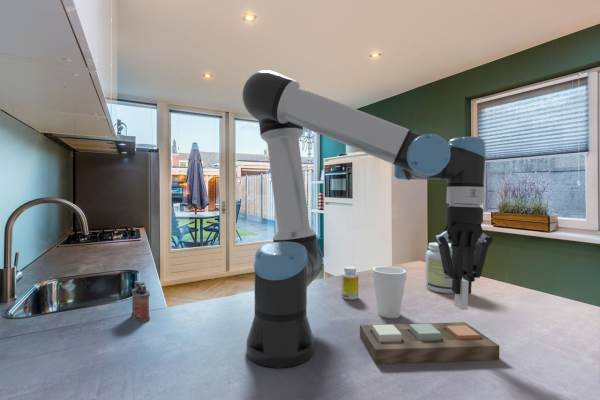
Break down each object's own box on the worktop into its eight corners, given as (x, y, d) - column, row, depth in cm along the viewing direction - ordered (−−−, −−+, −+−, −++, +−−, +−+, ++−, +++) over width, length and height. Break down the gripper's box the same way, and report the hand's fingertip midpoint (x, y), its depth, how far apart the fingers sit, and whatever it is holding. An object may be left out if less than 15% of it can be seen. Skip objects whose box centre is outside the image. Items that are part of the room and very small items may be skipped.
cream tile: (379, 343, 67) (379, 334, 67) (372, 333, 72) (372, 325, 72) (401, 343, 67) (401, 334, 67) (392, 332, 72) (393, 324, 72)
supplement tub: (468, 294, 108) (468, 247, 108) (433, 294, 108) (434, 246, 108) (451, 284, 120) (452, 241, 120) (420, 284, 120) (420, 241, 120)
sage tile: (419, 342, 67) (419, 333, 67) (409, 332, 72) (409, 324, 72) (440, 342, 68) (441, 333, 68) (429, 331, 73) (429, 323, 73)
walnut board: (375, 363, 63) (375, 349, 63) (359, 336, 75) (359, 324, 75) (499, 359, 65) (499, 345, 65) (464, 334, 77) (465, 322, 77)
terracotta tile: (458, 344, 68) (458, 335, 68) (445, 334, 73) (446, 325, 73) (479, 343, 68) (479, 334, 68) (465, 333, 73) (466, 325, 73)
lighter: (152, 320, 84) (152, 284, 84) (139, 324, 82) (139, 286, 82) (141, 312, 90) (141, 278, 90) (128, 315, 87) (128, 280, 87)
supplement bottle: (360, 299, 102) (361, 269, 102) (345, 300, 101) (345, 269, 101) (354, 294, 108) (354, 265, 108) (339, 295, 106) (339, 266, 106)
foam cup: (407, 321, 84) (408, 274, 84) (373, 318, 86) (373, 273, 86) (403, 309, 94) (403, 267, 94) (372, 306, 96) (372, 265, 95)
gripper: (446, 205, 66) (442, 314, 67) (503, 207, 67) (499, 313, 68) (429, 204, 74) (425, 301, 74) (480, 205, 75) (477, 301, 75)
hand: (460, 307), depth 71 cm, fingers closed
